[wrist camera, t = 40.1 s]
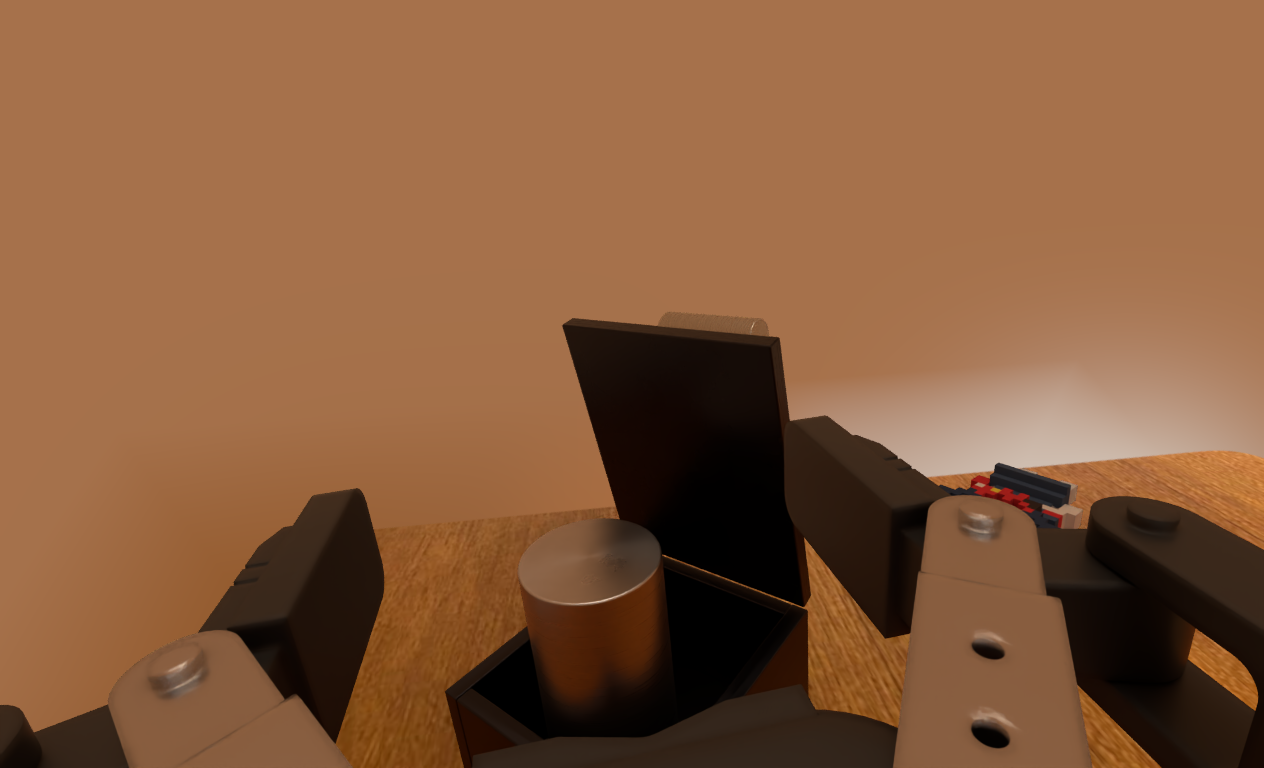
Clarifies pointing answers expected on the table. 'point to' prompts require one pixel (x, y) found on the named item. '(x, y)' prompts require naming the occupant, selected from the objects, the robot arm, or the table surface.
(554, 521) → the table surface
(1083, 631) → the robot arm
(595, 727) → the canister
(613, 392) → the lid
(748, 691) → the dark brown box
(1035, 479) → the figurine
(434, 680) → the table surface
